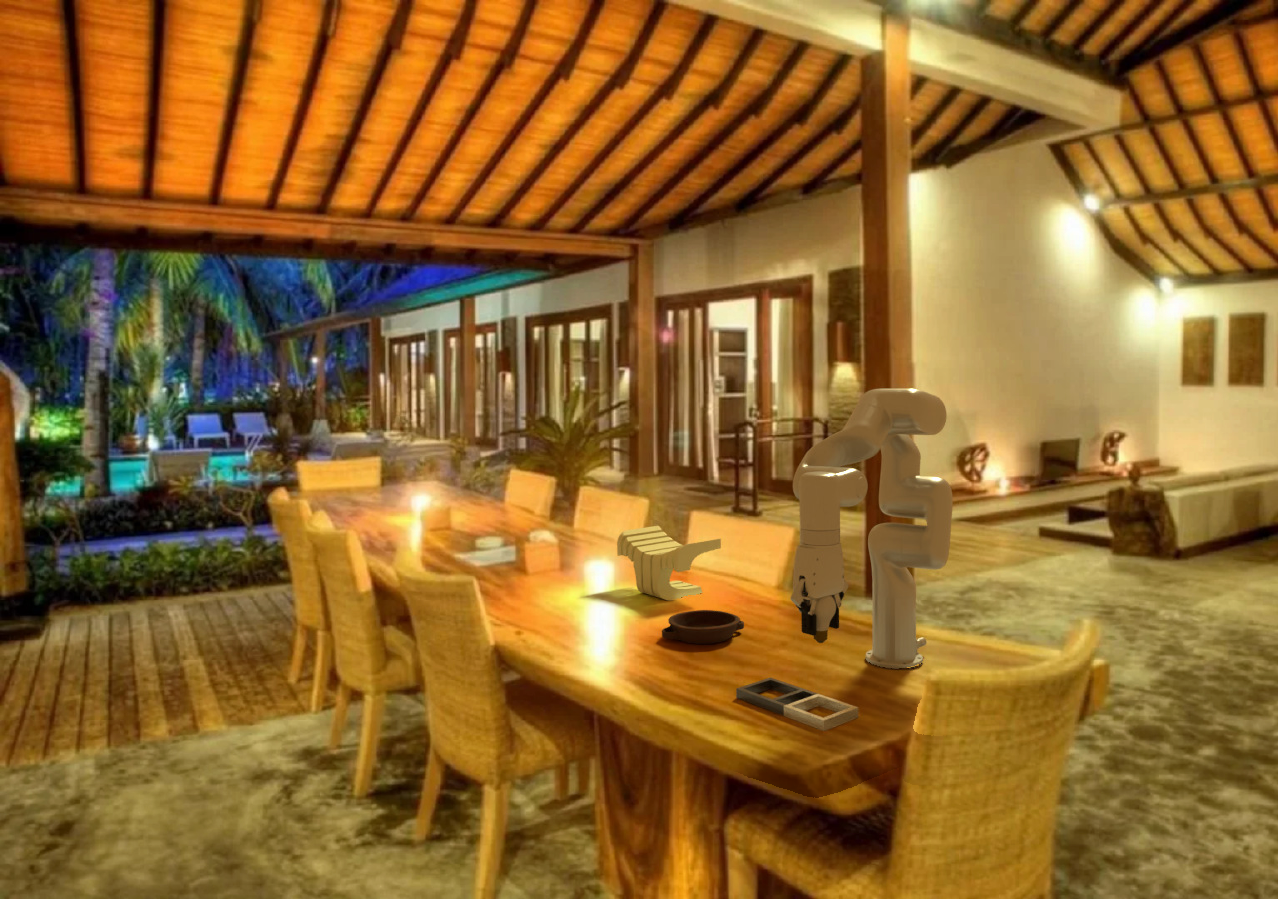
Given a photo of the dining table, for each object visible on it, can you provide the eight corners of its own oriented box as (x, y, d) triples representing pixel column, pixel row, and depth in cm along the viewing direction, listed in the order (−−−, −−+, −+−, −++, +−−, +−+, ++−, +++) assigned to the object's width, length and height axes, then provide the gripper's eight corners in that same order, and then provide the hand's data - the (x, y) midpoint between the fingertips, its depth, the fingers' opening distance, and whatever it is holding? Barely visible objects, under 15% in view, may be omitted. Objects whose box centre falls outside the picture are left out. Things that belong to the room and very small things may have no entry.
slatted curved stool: (618, 588, 284) (616, 531, 282) (659, 581, 293) (658, 525, 291) (678, 608, 259) (677, 545, 258) (721, 599, 269) (720, 538, 267)
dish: (759, 641, 227) (759, 622, 226) (676, 653, 219) (676, 632, 219) (729, 624, 243) (728, 605, 243) (651, 634, 236) (650, 614, 235)
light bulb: (832, 637, 179) (831, 587, 178) (839, 646, 173) (839, 594, 172) (801, 638, 179) (801, 588, 178) (808, 648, 173) (808, 595, 172)
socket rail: (770, 686, 194) (770, 677, 194) (858, 717, 176) (858, 707, 176) (736, 698, 188) (736, 688, 188) (823, 731, 170) (823, 720, 170)
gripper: (834, 528, 182) (834, 618, 184) (773, 540, 172) (774, 635, 173) (864, 533, 177) (864, 625, 178) (804, 546, 166) (805, 644, 168)
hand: (820, 629), depth 176 cm, fingers closed on light bulb, 5 cm apart
